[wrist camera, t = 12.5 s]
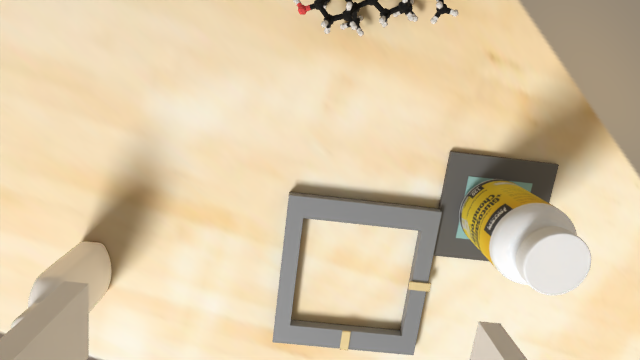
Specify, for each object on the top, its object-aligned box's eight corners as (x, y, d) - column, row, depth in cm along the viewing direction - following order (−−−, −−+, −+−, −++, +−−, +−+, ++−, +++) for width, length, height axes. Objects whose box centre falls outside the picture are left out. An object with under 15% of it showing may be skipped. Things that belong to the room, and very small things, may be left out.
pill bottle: (484, 164, 41) (551, 201, 30) (540, 200, 42) (625, 249, 31) (442, 222, 42) (491, 279, 31) (497, 255, 43) (564, 322, 32)
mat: (450, 151, 41) (451, 152, 41) (556, 163, 42) (558, 165, 41) (429, 253, 44) (431, 255, 43) (530, 263, 44) (533, 266, 44)
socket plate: (289, 192, 42) (289, 195, 41) (441, 209, 43) (445, 213, 41) (273, 336, 45) (272, 343, 44) (413, 349, 46) (416, 356, 45)
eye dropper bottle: (59, 279, 43) (-32, 358, 32) (86, 232, 42) (3, 296, 31) (101, 301, 44) (27, 386, 32) (128, 256, 43) (63, 327, 31)
